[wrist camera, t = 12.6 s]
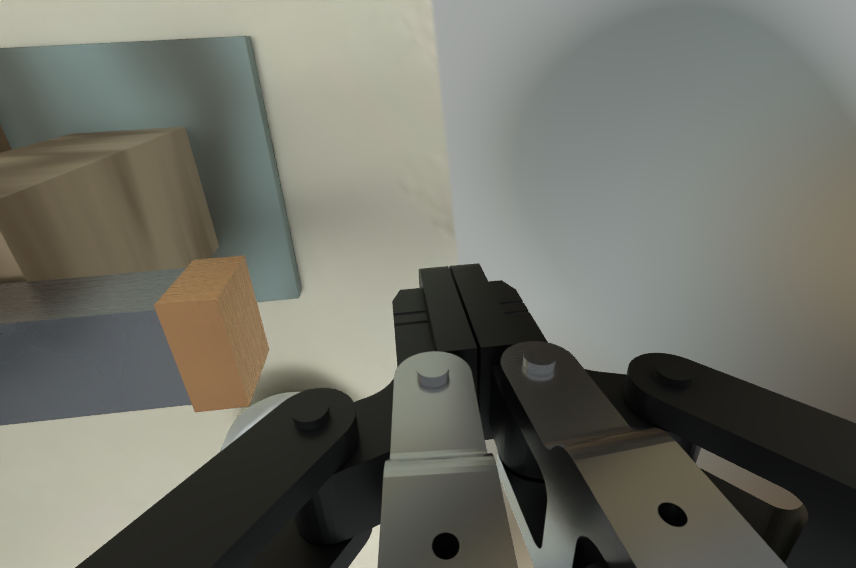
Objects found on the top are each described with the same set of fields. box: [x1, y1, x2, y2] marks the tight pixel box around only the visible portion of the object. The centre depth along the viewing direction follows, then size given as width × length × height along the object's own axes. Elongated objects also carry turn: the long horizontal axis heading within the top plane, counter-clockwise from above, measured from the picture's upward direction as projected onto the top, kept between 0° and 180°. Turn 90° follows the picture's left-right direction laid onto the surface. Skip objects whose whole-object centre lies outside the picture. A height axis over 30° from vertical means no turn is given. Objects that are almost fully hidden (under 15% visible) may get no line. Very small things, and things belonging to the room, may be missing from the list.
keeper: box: [0, 255, 269, 425], centre depth 10 cm, size 11×3×2 cm, turn 93°
